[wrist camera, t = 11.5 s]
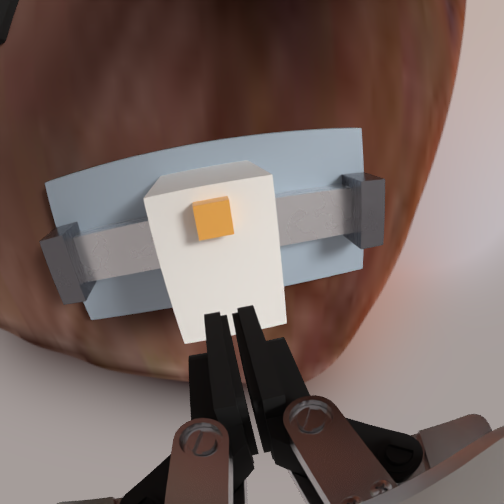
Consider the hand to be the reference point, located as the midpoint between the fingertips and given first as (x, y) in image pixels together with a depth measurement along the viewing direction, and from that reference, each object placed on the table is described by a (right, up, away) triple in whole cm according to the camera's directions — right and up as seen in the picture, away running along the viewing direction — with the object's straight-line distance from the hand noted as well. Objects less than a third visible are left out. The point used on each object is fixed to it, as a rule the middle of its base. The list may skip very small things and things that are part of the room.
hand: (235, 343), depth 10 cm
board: (-2, +5, +13) cm, 14 cm away
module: (-2, +5, +11) cm, 12 cm away
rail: (-2, +5, +11) cm, 12 cm away
